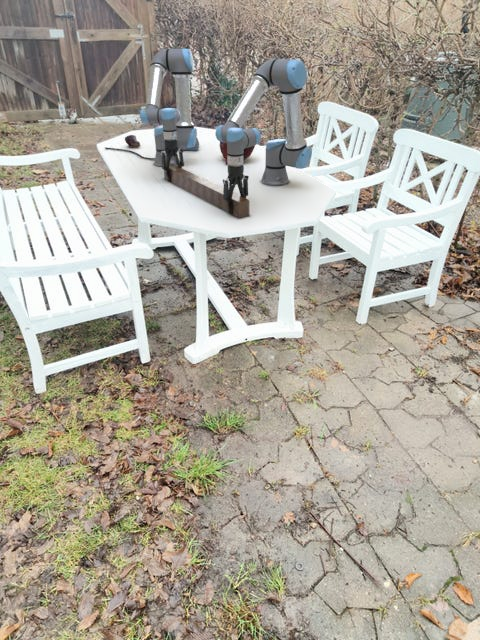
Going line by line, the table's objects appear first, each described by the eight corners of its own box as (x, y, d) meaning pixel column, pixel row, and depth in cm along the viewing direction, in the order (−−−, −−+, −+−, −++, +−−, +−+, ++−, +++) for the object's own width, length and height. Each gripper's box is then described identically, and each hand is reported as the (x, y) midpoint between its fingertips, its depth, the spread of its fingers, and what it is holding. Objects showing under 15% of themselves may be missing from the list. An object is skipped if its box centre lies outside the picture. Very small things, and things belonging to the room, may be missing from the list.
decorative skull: (216, 133, 304) (216, 130, 280) (250, 125, 303) (253, 121, 280) (223, 165, 311) (223, 165, 287) (256, 157, 310) (259, 157, 286)
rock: (137, 146, 338) (124, 147, 334) (135, 134, 334) (122, 135, 330) (142, 146, 329) (128, 148, 324) (140, 134, 325) (126, 135, 321)
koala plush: (199, 151, 320) (197, 121, 309) (174, 151, 319) (171, 122, 308) (199, 145, 334) (197, 116, 323) (175, 145, 333) (172, 117, 322)
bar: (164, 178, 268) (163, 165, 263) (173, 177, 271) (171, 163, 266) (239, 218, 216) (239, 202, 211) (249, 215, 218) (249, 199, 214)
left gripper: (158, 142, 244) (162, 184, 257) (188, 137, 253) (191, 178, 266) (152, 140, 249) (157, 181, 262) (182, 135, 258) (185, 175, 271)
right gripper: (223, 169, 201) (224, 218, 214) (256, 162, 210) (255, 210, 223) (214, 165, 206) (216, 214, 220) (247, 159, 215) (247, 205, 228)
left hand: (174, 180), depth 264 cm, fingers closed on bar, 6 cm apart
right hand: (236, 212), depth 221 cm, fingers closed on bar, 6 cm apart
